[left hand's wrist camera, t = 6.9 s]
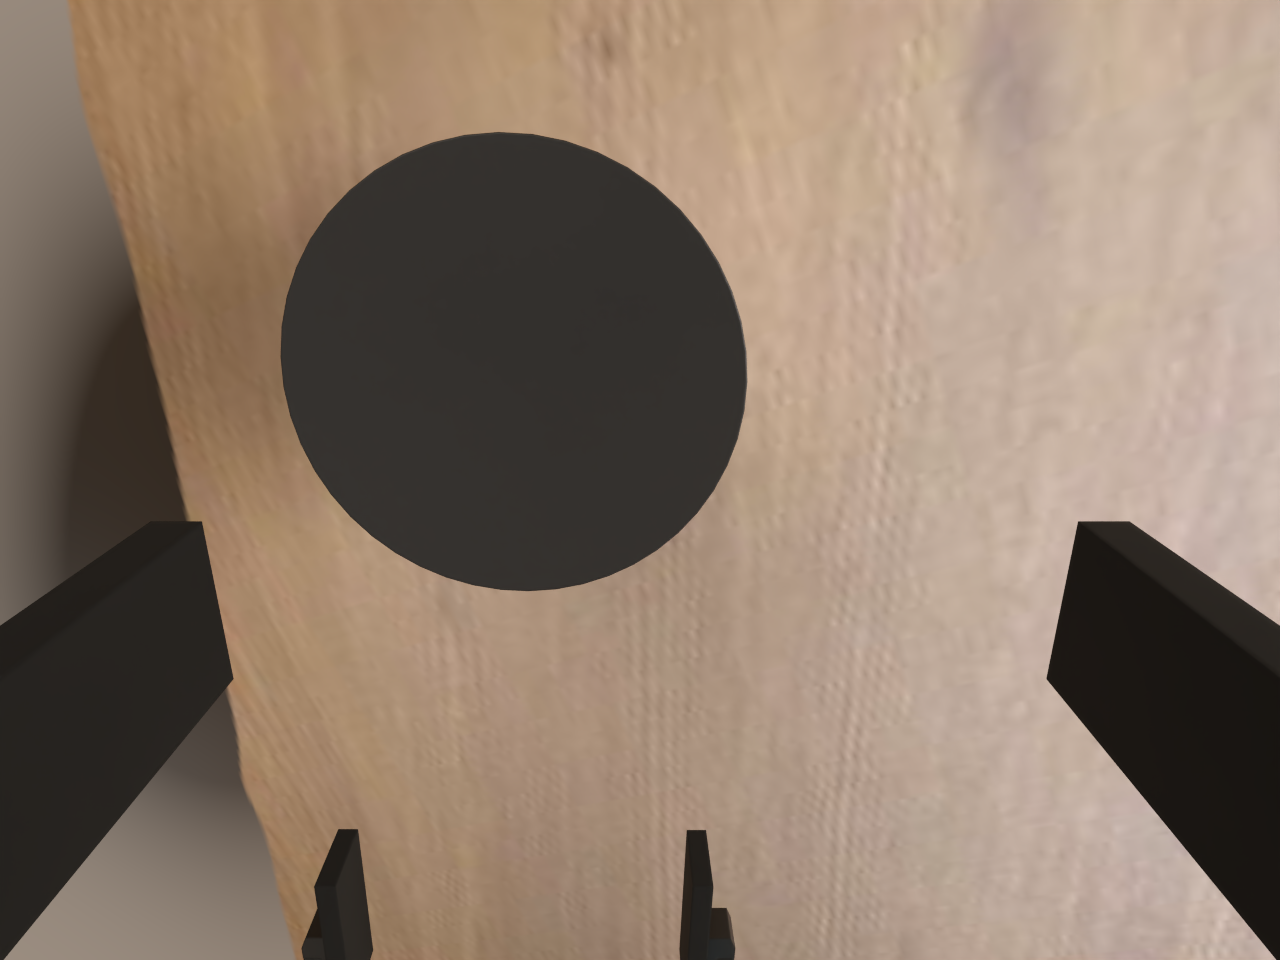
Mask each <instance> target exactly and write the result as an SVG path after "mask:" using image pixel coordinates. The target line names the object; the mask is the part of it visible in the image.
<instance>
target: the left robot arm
mask: <svg viewBox="0 0 1280 960" xmlns="http://www.w3.org/2000/svg"><path fill="white" fill-rule="evenodd" d="M232 680H233V674H232V669H231V664H230V659H229V654H228V649H227V644H226V639H225V634H224V629H223V624H222V619H221V614H220V609H219V604H218V599H217V594H216V590H215V585H214V580H213V575H212V570H211V565H210V560H209V555H208V550H207V545H206V540H205V535H204V530H203V525H202V522H149V523H148V524H146V525H145V526H143V527H142V528H141V529H139V530H138V531H136V532H135V533H133V534H132V535H131V536H129V537H128V538H126V539H125V540H123V541H122V542H120V543H119V544H117V545H116V546H115V547H113V548H112V549H110V550H109V551H107V552H106V553H104V554H103V555H102V556H100V557H99V558H97V559H96V560H94V561H93V562H92V563H90V564H89V565H87V566H86V567H84V568H83V569H81V570H80V571H79V572H77V573H76V574H74V575H73V576H71V577H70V578H68V579H67V580H66V581H64V582H63V583H61V584H60V585H58V586H57V587H55V588H54V589H53V590H51V591H50V592H48V593H47V594H45V595H44V596H43V597H41V598H40V599H38V600H37V601H35V602H34V603H32V604H31V605H29V606H28V607H27V608H25V609H24V610H22V611H21V612H19V613H18V614H17V615H15V616H14V617H12V618H11V619H9V620H8V621H6V622H5V623H4V624H2V625H1V626H0V960H4V959H5V957H6V956H7V955H8V954H9V952H10V951H11V950H12V949H13V948H14V946H15V945H16V944H17V943H18V941H19V940H20V939H21V938H22V936H23V935H24V934H25V933H26V932H27V930H28V929H29V928H30V927H31V926H32V924H33V923H34V922H35V921H36V919H37V918H38V917H39V916H40V915H41V913H42V912H43V911H44V910H45V908H46V907H47V906H48V905H49V904H50V902H51V901H52V900H53V899H54V897H55V896H56V895H57V894H58V893H59V891H60V890H61V889H62V888H63V886H64V885H65V884H66V883H67V882H68V880H69V879H70V878H71V877H72V875H73V874H74V873H75V872H76V871H77V869H78V868H79V867H80V866H81V864H82V863H83V862H84V861H85V860H86V858H87V857H88V856H89V855H90V854H91V852H92V851H93V850H94V849H95V847H96V846H97V845H98V844H99V843H100V841H101V840H102V839H103V838H104V836H105V835H106V834H107V833H108V832H109V830H110V829H111V828H112V827H113V825H114V824H115V823H116V822H117V820H118V819H119V818H120V817H121V816H122V814H123V813H124V812H125V811H126V810H127V808H128V807H129V806H130V805H131V803H132V802H133V801H134V800H135V799H136V797H137V796H138V795H139V794H140V792H141V791H142V790H143V789H144V788H145V786H146V785H147V784H148V783H149V781H150V780H151V779H152V778H153V777H154V775H155V774H156V773H157V772H158V770H159V769H160V768H161V767H162V766H163V764H164V763H165V762H166V761H167V759H168V758H169V757H170V756H171V755H172V753H173V752H174V751H175V750H176V748H177V747H178V746H179V745H180V744H181V742H182V741H183V740H184V739H185V737H186V736H187V735H188V734H189V733H190V731H191V730H192V729H193V728H194V726H195V725H196V724H197V723H198V722H199V720H200V719H201V718H202V717H203V715H204V714H205V713H206V712H207V711H208V709H209V708H210V707H211V706H212V704H213V703H214V702H215V701H216V700H217V698H218V697H219V696H220V695H221V693H222V692H223V691H224V690H225V689H226V687H227V686H228V685H229V684H230V683H231V681H232ZM1047 680H1048V681H1049V683H1050V684H1051V685H1052V686H1053V687H1054V689H1055V690H1056V691H1057V692H1058V694H1059V695H1060V696H1061V697H1062V698H1063V700H1064V701H1065V702H1066V703H1067V705H1068V706H1069V707H1070V708H1071V709H1072V711H1073V712H1074V713H1075V714H1076V715H1077V717H1078V718H1079V719H1080V720H1081V722H1082V723H1083V724H1084V725H1085V726H1086V728H1087V729H1088V730H1089V731H1090V733H1091V734H1092V735H1093V736H1094V737H1095V739H1096V740H1097V741H1098V742H1099V744H1100V745H1101V746H1102V747H1103V748H1104V750H1105V751H1106V752H1107V753H1108V755H1109V756H1110V757H1111V758H1112V759H1113V761H1114V762H1115V763H1116V764H1117V766H1118V767H1119V768H1120V769H1121V770H1122V772H1123V773H1124V774H1125V775H1126V777H1127V778H1128V779H1129V780H1130V781H1131V783H1132V784H1133V785H1134V786H1135V788H1136V789H1137V790H1138V791H1139V792H1140V794H1141V795H1142V796H1143V797H1144V799H1145V800H1146V801H1147V802H1148V803H1149V805H1150V806H1151V807H1152V808H1153V810H1154V811H1155V812H1156V813H1157V814H1158V816H1159V817H1160V818H1161V819H1162V821H1163V822H1164V823H1165V824H1166V825H1167V827H1168V828H1169V829H1170V830H1171V832H1172V833H1173V834H1174V835H1175V836H1176V838H1177V839H1178V840H1179V841H1180V843H1181V844H1182V845H1183V846H1184V847H1185V849H1186V850H1187V851H1188V852H1189V854H1190V855H1191V856H1192V857H1193V858H1194V860H1195V861H1196V862H1197V863H1198V864H1199V866H1200V867H1201V868H1202V869H1203V871H1204V872H1205V873H1206V874H1207V875H1208V877H1209V878H1210V879H1211V880H1212V882H1213V883H1214V884H1215V885H1216V886H1217V888H1218V889H1219V890H1220V891H1221V893H1222V894H1223V895H1224V896H1225V897H1226V899H1227V900H1228V901H1229V902H1230V904H1231V905H1232V906H1233V907H1234V908H1235V910H1236V911H1237V912H1238V913H1239V915H1240V916H1241V917H1242V918H1243V919H1244V921H1245V922H1246V923H1247V924H1248V926H1249V927H1250V928H1251V929H1252V930H1253V932H1254V933H1255V934H1256V935H1257V937H1258V938H1259V939H1260V940H1261V941H1262V943H1263V944H1264V945H1265V946H1266V948H1267V949H1268V950H1269V951H1270V952H1271V954H1272V955H1273V956H1274V957H1275V959H1276V960H1280V626H1279V625H1278V624H1277V623H1275V622H1274V621H1272V620H1271V619H1269V618H1268V617H1266V616H1265V615H1264V614H1262V613H1261V612H1259V611H1258V610H1256V609H1255V608H1253V607H1252V606H1251V605H1249V604H1248V603H1246V602H1245V601H1243V600H1242V599H1240V598H1239V597H1238V596H1236V595H1235V594H1233V593H1232V592H1230V591H1229V590H1227V589H1226V588H1225V587H1223V586H1222V585H1220V584H1219V583H1217V582H1216V581H1214V580H1213V579H1212V578H1210V577H1209V576H1207V575H1206V574H1204V573H1203V572H1201V571H1200V570H1199V569H1197V568H1196V567H1194V566H1193V565H1191V564H1190V563H1188V562H1187V561H1186V560H1184V559H1183V558H1181V557H1180V556H1178V555H1177V554H1176V553H1174V552H1173V551H1171V550H1170V549H1168V548H1167V547H1165V546H1164V545H1163V544H1161V543H1160V542H1158V541H1157V540H1155V539H1154V538H1152V537H1151V536H1150V535H1148V534H1147V533H1145V532H1144V531H1142V530H1141V529H1139V528H1138V527H1137V526H1135V525H1134V524H1132V523H1131V522H1078V525H1077V530H1076V535H1075V540H1074V545H1073V550H1072V555H1071V560H1070V565H1069V570H1068V575H1067V580H1066V585H1065V589H1064V594H1063V599H1062V604H1061V609H1060V614H1059V619H1058V624H1057V629H1056V634H1055V639H1054V644H1053V649H1052V654H1051V659H1050V664H1049V669H1048V674H1047Z"/></svg>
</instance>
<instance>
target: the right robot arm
mask: <svg viewBox="0 0 1280 960" xmlns="http://www.w3.org/2000/svg"><path fill="white" fill-rule="evenodd" d="M314 888H315V895H316V901H317V908H318V909H317V911H316V914H315V916H314V919H313V921H312V923H311V926H310V928H309V931H308V933H307V936H306V938H305V941H304V943H303V946H302V954H303V958H304V960H370V958H371V955H372V952H373V946H372V938H371V930H370V922H369V914H368V906H367V898H366V890H365V882H364V874H363V866H362V858H361V850H360V842H359V834H358V829H338V832H337V834H336V836H335V839H334V841H333V843H332V846H331V848H330V850H329V853H328V855H327V858H326V860H325V862H324V865H323V867H322V869H321V872H320V874H319V877H318V879H317V881H316V884H315V886H314ZM712 896H713V881H712V873H711V866H710V858H709V851H708V843H707V835H706V830H687V837H686V853H685V869H684V885H683V901H682V917H681V933H680V960H734V955H735V944H734V937H733V930H732V924H731V917H730V915H729V913H728V910H727V908H712Z"/></svg>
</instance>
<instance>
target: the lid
mask: <svg viewBox="0 0 1280 960" xmlns="http://www.w3.org/2000/svg"><path fill="white" fill-rule="evenodd" d="M281 365H282V375H283V385H284V390H285V395H286V399H287V403H288V408H289V412H290V416H291V419H292V422H293V424H294V427H295V430H296V432H297V435H298V438H299V440H300V443H301V445H302V447H303V449H304V451H305V453H306V455H307V457H308V459H309V461H310V463H311V464H312V466H313V468H314V470H315V472H316V473H317V475H318V476H319V478H320V479H321V480H322V482H323V483H324V485H325V486H326V488H327V489H328V491H329V492H330V494H331V495H332V496H333V497H334V498H335V500H336V501H337V502H338V503H339V504H340V505H341V506H342V508H343V509H344V510H345V511H346V512H347V513H348V514H349V516H350V517H351V518H353V519H354V520H355V521H356V522H357V523H358V524H359V525H360V526H361V527H362V528H364V529H365V530H366V531H367V532H368V533H369V534H370V535H371V536H373V537H374V538H375V539H377V540H378V541H380V542H381V543H382V544H384V545H385V546H387V547H388V548H389V549H391V550H392V551H394V552H395V553H397V554H398V555H400V556H402V557H404V558H406V559H407V560H409V561H411V562H413V563H415V564H416V565H418V566H420V567H422V568H425V569H427V570H430V571H432V572H434V573H437V574H439V575H442V576H444V577H447V578H450V579H454V580H457V581H461V582H464V583H468V584H471V585H475V586H482V587H488V588H494V589H500V590H517V591H537V590H551V589H560V588H565V587H570V586H575V585H581V584H585V583H588V582H591V581H594V580H597V579H601V578H604V577H607V576H610V575H612V574H614V573H616V572H618V571H621V570H623V569H625V568H627V567H629V566H631V565H634V564H635V563H637V562H639V561H640V560H642V559H643V558H645V557H647V556H648V555H650V554H651V553H653V552H655V551H656V550H658V549H659V548H660V547H661V546H663V545H664V544H665V543H666V542H668V541H669V540H670V539H671V538H673V537H674V536H675V535H676V534H678V533H679V532H680V531H681V530H682V528H683V527H684V526H685V525H686V524H687V523H688V522H689V521H690V520H691V519H692V518H693V517H694V516H695V515H696V514H697V513H698V511H699V510H700V509H701V507H702V506H703V505H704V503H705V502H706V500H707V499H708V498H709V496H710V495H711V494H712V492H713V491H714V489H715V487H716V485H717V484H718V482H719V480H720V478H721V476H722V475H723V473H724V471H725V469H726V467H727V465H728V463H729V460H730V457H731V455H732V452H733V450H734V447H735V444H736V442H737V439H738V435H739V431H740V427H741V423H742V418H743V414H744V409H745V399H746V389H747V358H746V347H745V341H744V335H743V329H742V323H741V319H740V316H739V312H738V309H737V306H736V303H735V299H734V296H733V293H732V290H731V288H730V286H729V284H728V281H727V279H726V277H725V275H724V273H723V271H722V268H721V266H720V264H719V262H718V260H717V259H716V257H715V256H714V254H713V252H712V251H711V249H710V248H709V246H708V245H707V243H706V241H705V240H704V238H703V237H702V235H701V234H700V233H699V231H698V230H697V229H696V228H695V227H694V225H693V224H692V223H691V222H690V221H689V219H688V218H687V217H686V216H685V215H684V213H683V212H682V211H681V210H680V209H679V208H678V207H677V206H676V205H675V204H674V203H673V202H672V201H670V200H669V199H668V198H667V197H666V196H665V195H664V194H663V193H662V192H661V191H660V190H658V189H657V188H656V187H655V186H654V185H652V184H651V183H649V182H648V181H646V180H645V179H644V178H642V177H641V176H639V175H638V174H636V173H635V172H634V171H632V170H631V169H629V168H628V167H626V166H624V165H622V164H620V163H618V162H616V161H614V160H612V159H610V158H608V157H606V156H604V155H602V154H600V153H598V152H596V151H593V150H590V149H587V148H585V147H582V146H579V145H576V144H573V143H570V142H567V141H564V140H559V139H554V138H549V137H544V136H539V135H534V134H522V133H505V132H494V133H482V134H471V135H463V136H459V137H454V138H450V139H446V140H441V141H437V142H433V143H430V144H428V145H425V146H423V147H420V148H418V149H415V150H412V151H410V152H407V153H405V154H402V155H401V156H399V157H397V158H395V159H394V160H392V161H390V162H388V163H387V164H385V165H383V166H382V167H380V168H378V169H376V170H375V171H373V172H372V173H371V174H369V175H368V176H367V177H366V178H364V179H363V180H362V181H361V182H359V183H358V184H357V185H356V186H354V187H353V188H352V189H351V190H349V191H348V192H347V194H346V195H345V196H344V197H343V198H342V199H341V200H340V201H339V202H338V203H337V204H336V205H335V206H334V207H333V209H332V210H331V211H330V212H329V213H328V214H327V215H326V217H325V218H324V220H323V221H322V223H321V224H320V226H319V227H318V229H317V230H316V231H315V233H314V234H313V236H312V237H311V239H310V241H309V243H308V245H307V247H306V249H305V251H304V253H303V255H302V257H301V259H300V261H299V263H298V265H297V267H296V270H295V273H294V276H293V279H292V282H291V285H290V289H289V292H288V295H287V299H286V305H285V311H284V316H283V322H282V333H281Z"/></svg>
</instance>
